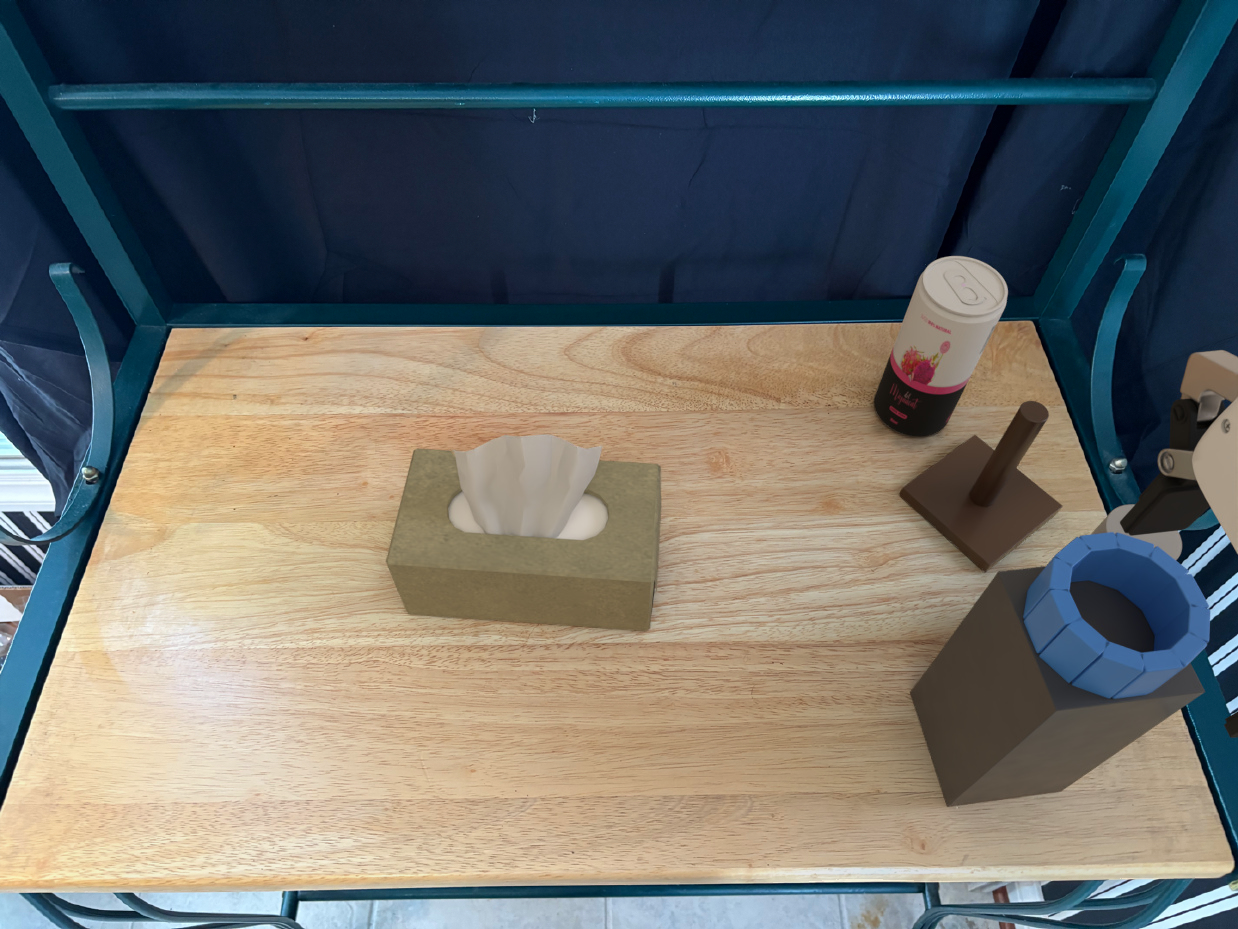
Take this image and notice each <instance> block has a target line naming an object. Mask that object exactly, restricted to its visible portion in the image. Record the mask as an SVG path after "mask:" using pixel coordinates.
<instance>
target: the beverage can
mask: <svg viewBox="0 0 1238 929" xmlns="http://www.w3.org/2000/svg"><path fill="white" fill-rule="evenodd" d="M1008 295H1009V290H1008V285H1007V282H1006V281H1005V279H1004V277H1003V276H1002V275H1001V273H1000V272H998V271H997V269H995V268H993V267H992V266H991V265H989V264H988V263H986V262H984V261H981V260H979V259H976V258H974V257H973V258H972V257H968V256H963V255H951V256H944V257H940V258H938V259H936V260H933V261H932V262H930V263H929V264H928V265H927V267H925V269H924V271H923V272H922V273H921V274H920V276H919V277H918V279H917V283H916V286H915V288H914V290H913V293H912V296H911V299H910V302H909V305H908V306H907V309H906V312H905V315H904V317H903V320H902V322H901V325H900V327H899V330H898V333H897V336H896V339H895V340H894V343H893V347H892V349H891V352H890V355H889V357H888V360H887V363H886V365H885V368H884V371H883V373H882V375H881V377H880V380H879V384H878V386H877V389H876V391H875V393H874V399H873V407H874V410H875V413H876V415H877V417H878V418H879V420H880V421H881V422H882V423H883V424H884V425H885V426H886V427H887V428H890V429H891V430H892V431H894V432H896V433H898V434H901V435H903V436H908V437H913V438H927V437H930V436H933V435H936V434H938V433H939V432H941V431H942V430H943V429H945V428H946V426H947V425H948V423H949V421H950V419H951V417H952V415H953V413H954V411H955V409H956V407H957V405H958V402H959V401H960V399H961V397H962V395H963V393H964V391H965V389H966V387H967V385H968V383H969V381H970V379H971V377H972V375H973V373H974V371H975V369H976V366H978V363H979V361H980V359H981V358H982V355H983V353H984V351H985V349H986V347H987V345H988V343H989V341H990V339H991V337H992V335H993V333H994V330H995V329H996V326H997V325H998V322H999V321H1000V318H1001V317H1002V315H1003V313H1004V311H1005V309H1006V306H1007V302H1008V301H1007V300H1008Z"/></svg>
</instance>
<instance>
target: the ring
mask: <svg viewBox="0 0 1238 929" xmlns="http://www.w3.org/2000/svg"><path fill="white" fill-rule="evenodd" d="M1045 566H1046V567H1045V568H1044V569H1043V571H1042V572H1041V573H1040V574H1039V576H1038V577H1037V578H1036V579H1035V580H1034V582H1033V583H1032V584H1031V585H1030V587H1029V589H1028V592H1027V598H1026V603H1025V609H1024V615H1023V618H1024V619H1025V620H1024V624H1025V626H1026V628H1027V631H1028V633H1029V636H1030V638H1031V640H1032V643H1033V645H1034V647H1035V650H1036V652H1037V653H1041V654H1040V655H1039V657H1040V658H1041V659H1043V660H1044V661H1045V662H1046V663H1047V664H1048V665H1049V666H1050V667H1051V668H1052V669H1053V670H1055V671H1056V672H1057V673H1058V674H1059V675H1060V676H1061V677H1062V678H1063V679H1064V680H1065V681H1067V682H1068V683H1070V682H1071V681H1072V685H1073V686H1075V687H1078V688H1081V689H1084V690H1086V691H1089V692H1092V693H1095V694H1097V695H1100V696H1103V697H1106V698H1111V697H1112V698H1113V699H1118V698H1126V697H1134V696H1142V695H1147V694H1149V693H1152V692H1153V691H1154V690H1156V689H1157V688H1158V687H1160V686H1161V685H1162V684H1164V683H1165V682H1166V681H1168V680H1169V679H1170V678H1172V677H1173V676H1174V675H1176V674H1177V673H1178V672H1179V671H1181V670H1182V669H1183V668H1185V667H1186V666H1187V665H1188V664H1189V663H1191V662H1193V660H1195V659H1196V658H1197V657H1198V655H1199V654H1201V652H1202V651H1204V649H1205V648H1206V647H1207V646H1208V643H1209V642H1210V632H1211V629H1210V628H1211V609H1210V604H1209V602H1208V601H1207V600H1206V597H1205V596H1204V594H1203V592H1202V590H1201V588H1200V587H1199V585H1198V583H1197V581H1196V579H1195V578H1194V576H1193V574H1192V573H1189V572H1190V570H1189V569H1187V568H1186V567H1185V566H1184V565H1182V564H1181V563H1180V562H1178V561H1177V560H1175V559H1173V558H1172V557H1171V556H1170V555H1168V554H1167V553H1166V552H1165V551H1163V550H1162V549H1161V548H1159V547H1158V546H1156V547H1155V548H1154V544H1152V543H1149V542H1146V541H1143V540H1140V539H1137V538H1134V537H1130V536H1127V535H1124V534H1121V533H1118V532H1117V533H1116V534H1115V533H1114V532H1108V533H1099V534H1091V533H1090V534H1083V535H1079V536H1076V537H1074V538H1073V539H1072V540H1071V541H1070V542H1069V543H1067V544H1066V545H1065V546H1063V548H1062V549H1060V550H1059V551H1058V552H1056V554H1054V556H1053V557H1051V559H1050V561H1049V562H1048V563H1047V565H1045ZM1087 580H1089V581H1092V582H1095V583H1098V584H1101V585H1104V586H1107V587H1110V588H1113V589H1116V590H1118V591H1119V592H1121V593H1122V594H1123V595H1124V596H1125V597H1127V598H1128V599H1129V600H1130V601H1131V602H1132V603H1134V604H1135V605H1136V606H1137V607H1138V608H1140V609H1141V610H1142V612H1143V613H1144V615H1145V617H1146V619H1147V621H1148V623H1149V625H1150V627H1151V629H1152V631H1153V633H1154V635H1155V639H1154V651H1151V652H1143V653H1141V652H1138V651H1135V650H1132V649H1129V648H1126V647H1123V646H1120V645H1118V644H1115V643H1112V642H1109V641H1107V640H1106V639H1105V638H1104V637H1103V636H1102V635H1101V634H1099V633H1098V632H1097V631H1096V630H1095V629H1094V628H1093V627H1091V626H1090V625H1089V624H1088V623H1087V622H1086V621H1084V620H1083V619H1082V617H1081V615H1080V613H1079V611H1078V609H1077V606H1076V604H1075V602H1074V600H1073V598H1072V596H1071V594H1070V591H1069V590H1070V583H1071V582H1078V581H1087Z"/></svg>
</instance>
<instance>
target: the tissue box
mask: <svg viewBox="0 0 1238 929" xmlns="http://www.w3.org/2000/svg"><path fill="white" fill-rule="evenodd" d="M602 450H603V444H602V445H598V446H593V447H592V446H591V447H588V448H585V447H582V446H578V445H576V444H575V443H573V442H571V441H568V440H567V439H564V438H562V437H560V436H557V435H554V434H546V433H543V434H542V433H541V434H532V435H508V434H504V435H501V436H498V437H496V438H493V439H490V440H488V441H486V442H484V443H483V444H480V445H479V446H476V447H475V448H472V449H469V450H456V449H434V448H433V449H431V448H415V449H413V451H412V456H411V459H410V463H409V467H408V471H407V474H406V479H405V483H404V487H403V491H402V495H401V499H400V503H399V507H398V511H397V515H396V518H395V523H394V527H393V531H392V535H391V539H390V543H389V546H388V551H387V555H386V559H385V563H386V565H387V568H388V570H389V573H390V575H391V577H392V580H393V582H394V585H395V587H396V590H397V592H398V595H399V598H400V599H401V602H402V604H403V607H404V609H405V611H406V613H407V615H413V616H414V615H415V616H416V615H417V616H429V617H444V618H455V619H456V618H458V619H472V620H485V621H499V622H514V623H515V622H516V623H527V624H528V623H529V624H542V625H558V626H571V627H572V626H573V627H584V628H585V627H587V628H597V629H598V628H599V629H600V628H601V629H614V630H627V631H629V630H630V631H640V632H641V631H643V632H647V631H649V630H650V629H651V622H652V614H653V607H654V599H655V592H658V578H659V558H660V540H661V524H662V523H661V522H662V471H661V470H662V466H661V465H660V464H658V463H649V462H636V461H635V462H633V461H621V460H620V461H619V460H603V459H600V458H601V455H602Z"/></svg>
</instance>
